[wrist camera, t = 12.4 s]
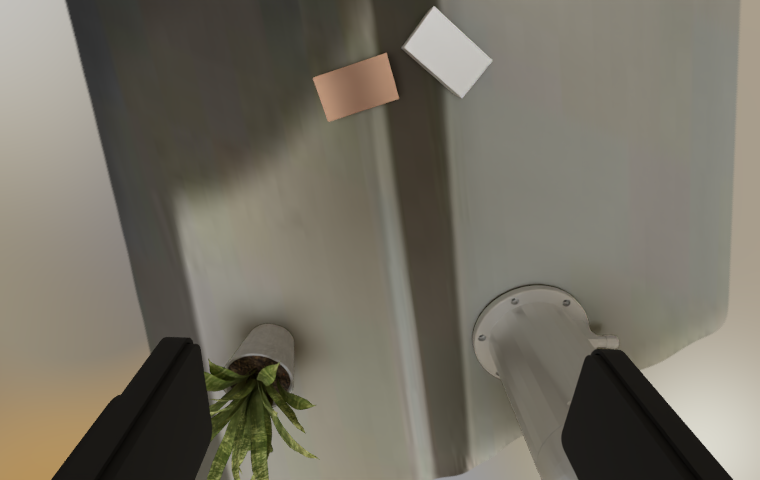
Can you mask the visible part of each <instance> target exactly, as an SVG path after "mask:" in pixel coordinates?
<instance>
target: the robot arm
mask: <svg viewBox="0 0 760 480" xmlns="http://www.w3.org/2000/svg"><path fill="white" fill-rule="evenodd" d="M618 346H619V340H618V338H617V336H615V335H596V334H595V333H593V332H592V331H591V330H590V329H589V320H588V317H587V315H586V312H585V311H584V309H583V308H582V306H581V305H580V304H579V303H578V301H577V300H576V299H575V298H574V297H573V296H571V295H570V294H568V293H567V292H565V291H563V290H560V289H558V288H555V287H550V286H543V285H533V286H525V287H521V288H518V289H514V290H511V291H509V292H507V293H505V294H503V295H501V296H500V297H498V298H497V299H495V300H494V301H493V302H492V303H491V304H489V305H488V306H487V307H486V308H485V309H484V311H483V312H482V314H481V315H480V316H479V318H478V320H477V322H476V325H475V327H474V332H473V347H474V351H475V354H476V356H477V359H478V361H479V362H480V364H481V365H482V367H483V368H484V369H485V370H486V371H487V372H488V373H490V374H491V375H493V376H494V377H496V378H498V379H501V381H502V384H503V386H504V389H505V391H506V394H507V396H508V399H509V401H510V404H511V406H512V408H513V411H514V413H515V416H516V418H517V421H518V423H519V426H520V428H521V431H522V433H523V436H524V438H525V441H526V443H527V445H528V448H529V450H530V453H531V455H532V458H533V460H534V463H535V465H536V468H537V470H538V473H539V475H540V477H541V480H733V479H732V478H731V477H730V476H729V474H728V473H727V472H726V471H725V470H724V468H723V467H722V466H721V465H720V464H719V463H718V461H717V460H716V459H715V458H714V457H713V456H712V454H711V453H710V452H709V451H708V450H707V449H706V447H705V446H704V445H703V444H702V443H701V442H700V440H699V439H698V438H697V437H696V436H695V435H694V433H693V432H692V431H691V430H690V429H689V428H688V426H687V425H686V424H685V423H684V422H683V421H682V420H681V418H680V417H679V416H678V415H677V414H676V412H675V411H674V410H673V409H672V408H671V407H670V405H668V403H667V402H666V401H665V400H664V398H663V397H662V396H661V395H660V394H659V393H658V391H657V390H656V389H655V388H654V387H653V386H652V384H651V383H650V382H649V381H648V380H647V379H646V378H645V376H643V374H642V373H641V372H640V370H639V369H638V368H637V367H636V366H635V365H634V363H633V362H632V361H631V360H630V359H629V358H628V356H627V355H626V354H625V353H624V352H623V351H621V350H614V349H596V348H597V347H601V348H618ZM211 437H212V421H211V415H210V408H209V402H208V395H207V389H206V382H205V375H204V369H203V362H202V356H201V349H200V346H199V345H198V344H193V341H192V339H191V338H180V337H165V338H163V339H162V340H161V341H160V342H159V344H158V345H157V346H156V348H155V349H154V350H153V352H152V353H151V355H150V356H149V357H148V359H147V360H146V361H145V363H144V364H143V365H142V367H141V368H140V370H139V371H138V373H137V374H136V375H135V376H134V378H133V379H132V380H131V382H130V383H129V385H128V386H127V387H126V389H125V390H124V391H123V393H122V394H121V395H118V396H116V397H115V398H113V399H112V400H111V401H110V403H109V404H108V405H107V406H106V408H105V409H104V410H103V412H102V413H101V414H100V416H99V417H98V418H97V420H96V421H95V422H94V423H93V425H92V426H91V428H90V429H89V430H88V432H87V433H86V434H85V436H84V437H83V438H82V439H81V441H80V442H79V443H78V445H77V446H76V447H75V449H74V450H73V452H72V453H71V454H70V455H69V457H68V458H67V459H66V461H65V462H64V463H63V465H62V466H61V467H60V469H59V470H58V471H57V473H56V474H55V475H54V477H53V478H52V480H195V478H196V475H197V473H198V471H199V468H200V466H201V463H202V461H203V458H204V456H205V454H206V451H207V449H208V446H209V444H210V441H211Z"/></svg>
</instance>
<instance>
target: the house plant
mask: <svg viewBox="0 0 760 480" xmlns="http://www.w3.org/2000/svg"><path fill="white" fill-rule="evenodd" d="M208 360H209V359H208ZM209 367H210V373H211V374H212V375H211V374H209V373H206V372H204V375H205V382H206V389H207V391H220V390H224V391H225V392H226V394H225V395H224V396H223V397H222V398H221V399H219V400H216V399H211V400H216V401H218V402H217V403H216V404H213V405H211V406H209V408H210V415H211V416H213V415H214V414H216V413H218V414H217V415H216V416H214V417H213V418H211V421H212V437H211V441H212V439H213V438H214V437H215V436H216V435H217V434H218V433H219V432H220V431H221V430H222V428H223V427H224V426H225V425H226V424H227V423H228V422H229V421H230V422H229V424H228V427H227V430H226V433H225V435H224V437H223V440H222V442H221V444H220V446H219V448H218V451H217V453H216V455H215V458H214V460H213V463H212V465H211V468H210V471H209V474H208V477H207V480H220V478H221V475H222V473H223V470H224V468H225V465H226V463H227V461H228V459H229V456H230V454H231V452H232V473H233V477H234V480H240V478H239V470H240V468H239V466H240V464H241V463H242V461H243V460H244V458H245V456H246V454H247V451H249V450H251V463H252V471H253V473H254V474H253V476H252V478H251V480H255V479H257V480H269V478H268V466H267V459H268V456H269V453H270V452H272V451H273V448H272V445H271V440H272V425H271V419H270V416H271V418H272V420H273V422H274V425H275V427H276V429H277V431H278V433H279V434H280V436H281V437H282V438H283V440H284V441H285V442H286V443H287V445H288V446H289V447H290V448H292V449H293V450H295V451H297V452H299V453H301V454H302V455H304V456H306V457H308V458H317V457H316V456H314V455H312V454H311V453H309V452H307V451H306V450H305V449H304V448H302V447H301V446H300V445H299V444H298V443H297V442H296V441H295V440H294V439H293V438H292V437H291V436H290V435H289V433H288V432H287V431H286V430H285V428H284V427H283V425H282V424H281V422H280V421H279V419H278V417H277V412H275V411H274V410H273V407H276V406H278V407H279V408H280V409H281V410H282V411H283V413H284V414H285V415H286V416H287V417H288V419H289V420H290V421H291V422H292V423H293V424H294V425H295V426H296V427H297V428H298V429H299V430H301V431H302V432H304V433H305V431H304V429H303V427H302V426H301V425H300V423H299V422H298V420H297V417H296V415H295V413H294V411H293V410H292V409H291V408H290V406H291V407H293V408H295V409H298V410H303V409H308V408H311V407H313V406H315V405H312V404H311V403H310V402H309V401H308V400H306V399H304V398H302V397H299V396H297V395H294V394H292V390H293V388H294V339H293V337H292V335H291V334H290V332H289V331H288V330H286V329H285V328H283V327H281V326H278V325H274V324H262V325H259V326H257V327H255V328H254V329H253V330H252V331H251V332H250V333H249V335H248V336H247V337H246V339H245V340H244V341H243V343H242V344H241V345H240V347H239V348H238V349H237V351H236V352H235V353H234V355H233V356H232V357H231V359H230V360H229V361H228V363H227V364H226V366H225V367H221V366H217V365H215V364H213V363H212V362H210V360H209ZM229 400H233V401H232V402H231V403H230V404H229V405H228V406H227V407H226V408H225V409H222V410H219V409H220V408H221V407H222V406H224V405H225V404H226V403H227V402H228V401H229ZM288 404H289V405H290V406H289V405H288ZM219 412H220V413H219ZM230 419H231V420H230ZM211 441H210V442H211ZM232 448H233V451H232ZM319 460H320V459H319ZM240 472H241V470H240ZM241 473H242V472H241Z"/></svg>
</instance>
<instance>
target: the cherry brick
mask: <svg viewBox="0 0 760 480" xmlns="http://www.w3.org/2000/svg"><path fill="white" fill-rule="evenodd" d="M313 80H314V83H315V86H316V88H317V91H318V94H319V97H320V100H321V103H322V106H323V108H324V111H325V114H326V117H327V120H328V122H330V121H333V120H336V119H339V118H342V117H345V116H348V115H351V114H354V113H357V112H360V111H363V110H366V109H370V108H373V107H376V106H379V105H382V104H385V103H388V102H391V101H394V100H397V99H399V96H398V92H397V89H396V85H395V82H394V78H393V74H392V71H391V67H390V64H389V60H388V56H387V53H384V54H381V55H378V56H375V57H372V58H369V59H366V60H364V61H361V62H358V63H355V64H352V65H349V66H346V67H343V68H340V69H337V70H334V71H331V72H328V73H325V74H322V75H319V76H316V77H313Z"/></svg>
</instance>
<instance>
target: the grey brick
mask: <svg viewBox="0 0 760 480" xmlns="http://www.w3.org/2000/svg"><path fill="white" fill-rule="evenodd" d="M401 49H402V50H403V51H405V52H406V53H407V54H408V55H409V56H410V57H411V58H413V59H414V60H415V61H416V62H417V63H418V64H420V65H421V66H422V67H423V68H424V69H425V70H426V71H428V72H429V73H430V74H431V75H432V76H433V77H434V78H436V79H437V80H438V81H439V82H440V83H441V84H443V85H444V86H445V87H446V88H447V89H448V90H449V91H451V92H452V93H453V94H454V95H456V96H458V97H460V98H463V97H464V95H465V94H466V93H467V92H468V91H469V89H470V88H471V87H472V86H473V84H474V83H475V82H476V81H477V79H478V78H479V77H480V76H481V74H482V73H483V72H484V71H485V70H486V68H487V67H488V66H489V65H490V63H491V62H492V61H493V60H492V59H490V58H489V57H488V56H487V55H486V54H485V53H484V52H483V51H482V50H481V49H480V48H479V47H478V46H477V45H475V44H474V43H473V42H472V41H471V40H470V39H469V38H468V37H467V36H466V35H465V34H464V33H463V32H461V31H460V30H459V29H458V28H457V27H456V26H455V25H454V24H453V23H452V22H451V21H450V20H449V19H447V18H446V17H445V16H444V15H443V14H442V13H441V12H440V11H439V10H438V9H437V8H436V7H435V6H434V7H432V8H431V9H430V10H428V12H427V13H426V14H425V16H424V17H423V19H422V20H421V21H420V23H419V24H418V25H417V27H416V28H415V30H414V31H413V32H412V34H411V35H410V36H409V38H408V39H407V41H406V42H405V43H404V45H403V46H402V48H401Z"/></svg>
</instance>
